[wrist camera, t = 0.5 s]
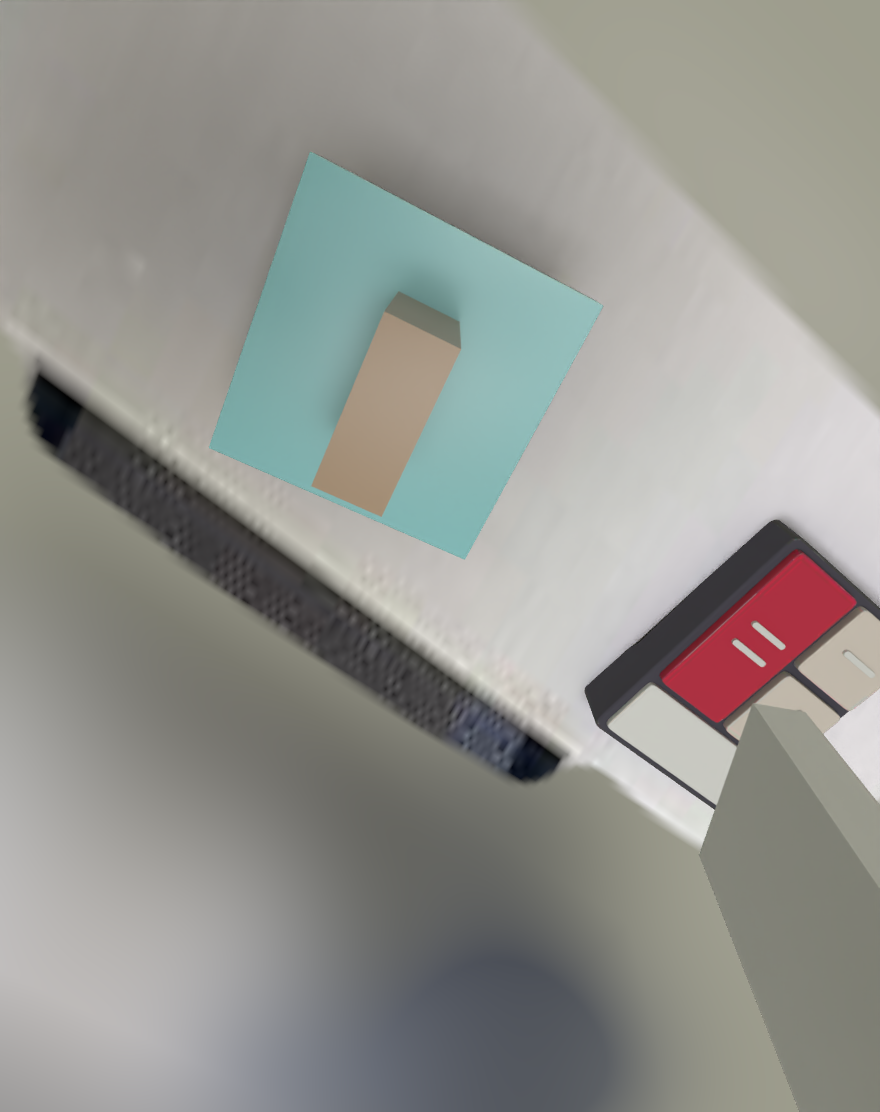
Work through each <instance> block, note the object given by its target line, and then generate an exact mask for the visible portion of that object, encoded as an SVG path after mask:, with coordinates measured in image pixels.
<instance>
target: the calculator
mask: <svg viewBox="0 0 880 1112" xmlns="http://www.w3.org/2000/svg"><path fill="white" fill-rule="evenodd" d="M878 689H880V608H879V607H878V606H877V605H876V604H874V603H873V602H872V601H871V600H870V599H869V598H868V597H867V596H866V595H865V594H863V593H862V592H861V591H860V590H859V589H858V588H857V587H856V586H855V585H853V584H852V583H851V582H850V581H849V580H848V579H847V578H846V577H845V576H844V575H842V574H841V573H840V572H839V571H838V570H837V569H836V568H835V567H834V566H833V565H831V564H830V563H829V562H828V561H827V560H826V559H825V558H824V557H823V556H821V555H820V554H819V553H818V552H817V551H816V550H815V549H814V548H813V547H812V546H810V545H809V544H808V543H807V542H806V541H805V540H804V539H802V538H801V537H800V536H799V535H797V534H796V533H795V532H794V531H792V530H791V529H790V528H788V527H787V526H786V525H785V524H783V523H782V522H781V521H778V520H774V521H771V522H769V523H768V524H767V525H766V526H765V527H763V528H762V529H761V530H760V531H759V532H758V533H757V534H756V535H755V536H753V537H752V538H751V539H750V540H749V541H748V542H747V543H746V544H745V545H743V546H742V547H741V548H740V549H739V550H738V551H737V552H736V553H735V554H733V555H732V556H731V557H730V558H729V559H728V560H727V561H726V562H725V563H723V564H722V565H721V566H720V567H719V568H718V569H717V570H716V571H715V572H713V573H712V574H711V575H710V576H709V577H708V578H707V579H706V580H705V581H703V582H702V583H701V584H700V585H699V586H698V587H697V588H696V589H695V590H694V591H693V592H692V593H691V594H690V595H689V596H688V597H686V598H685V599H684V600H683V601H682V602H681V603H680V604H679V605H678V606H677V607H676V608H675V609H674V610H673V611H672V612H671V613H670V614H669V615H667V616H666V617H665V618H664V619H663V620H662V621H661V622H660V623H659V624H658V625H657V626H656V627H655V628H654V629H653V630H652V631H651V632H650V633H649V634H647V635H646V636H645V637H644V638H643V639H642V640H641V641H640V642H639V643H638V644H636V645H633V646H631V647H630V648H629V649H627V650H626V651H625V652H624V653H623V654H622V655H621V656H620V657H619V658H617V659H616V660H615V661H614V662H613V663H612V664H611V665H610V666H609V667H607V668H606V669H605V670H604V671H603V672H602V673H601V674H600V675H598V676H597V677H596V678H595V679H594V680H593V681H592V682H591V683H590V684H589V685H587V687H586V688H585V694H586V697H587V700H588V703H589V705H590V708H591V711H592V714H593V717H594V719H595V722H596V724H597V726H598V727H599V728H600V729H602V730H603V731H605V732H606V733H607V734H609V735H610V736H612V737H613V738H614V739H616V740H617V741H619V742H620V743H621V744H623V745H624V746H626V747H627V748H629V749H630V750H631V751H633V752H634V753H636V754H637V755H638V756H640V757H641V758H643V759H644V760H645V761H647V762H648V763H650V764H651V765H652V766H654V767H655V768H657V769H658V770H659V771H661V772H662V773H664V774H665V775H667V776H668V777H669V778H671V779H672V780H674V781H675V782H676V783H678V784H679V785H681V786H682V787H683V788H685V789H686V790H688V791H689V792H690V793H692V794H693V795H695V796H696V797H698V798H699V799H700V800H702V801H703V802H705V803H706V804H707V805H709V806H710V807H712V808H713V809H714V810H715V808H716V805H717V803H718V800H719V797H720V794H721V791H722V788H723V786H724V783H725V780H726V777H727V774H728V772H729V769H730V766H731V763H732V760H733V757H734V755H735V752H736V749H737V746H738V743H739V740H740V738H741V735H742V732H743V729H744V726H745V723H746V721H747V718H748V715H749V712H750V709H751V706H752V704H753V703H756V704H762V705H767V706H773V707H779V708H785V709H790V710H796V711H802V712H806V713H807V715H808V716H809V717H810V718H811V720H812V721H813V722H814V723H815V725H816V726H817V727H818V728H819V730H820V731H821V732H822V733H823V734H824V733H825V732H826V731H828V730H829V729H830V728H831V727H833V726H834V725H835V724H836V723H837V722H838V721H839V720H840V718H841V717H842V716H844V715H845V714H846V713H847V712H848V711H851V710H853V709H855V708H856V707H857V706H859V705H860V704H861V703H862V702H864V701H865V700H866V699H867V698H869V697H870V696H871V695H872V694H873V693H875V692H876V691H877V690H878Z"/></svg>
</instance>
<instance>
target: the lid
mask: <svg viewBox="0 0 880 1112" xmlns="http://www.w3.org/2000/svg"><path fill="white" fill-rule="evenodd" d="M602 308H603V305H602V304H600V303H598V302H597V301H595V300H593V299H592V298H590V297H588V296H586V295H584V294H582V293H580V292H578V291H576V290H575V289H573V288H571V287H569V286H567V285H565V284H563V283H561V282H559V281H557V280H556V279H554V278H552V277H550V276H548V275H546V274H544V273H542V272H540V271H538V270H536V269H535V268H533V267H531V266H529V265H527V264H525V263H523V262H521V261H519V260H517V259H516V258H514V257H512V256H510V255H508V254H506V253H504V252H502V251H500V250H498V249H497V248H495V247H493V246H491V245H489V244H487V243H485V242H483V241H481V240H479V239H477V238H476V237H474V236H472V235H470V234H468V233H466V232H464V231H462V230H460V229H458V228H457V227H455V226H453V225H451V224H449V223H447V222H445V221H443V220H441V219H439V218H438V217H436V216H434V215H432V214H430V213H428V212H426V211H424V210H422V209H420V208H418V207H417V206H415V205H413V204H411V203H409V202H407V201H405V200H403V199H401V198H399V197H398V196H396V195H394V194H392V193H390V192H388V191H386V190H384V189H382V188H380V187H379V186H377V185H375V184H373V183H371V182H369V181H367V180H365V179H363V178H361V177H359V176H358V175H356V174H354V173H352V172H350V171H348V170H346V169H344V168H342V167H340V166H339V165H337V164H335V163H333V162H331V161H329V160H327V159H325V158H323V157H321V156H319V155H317V154H314V153H312V152H310V153H309V156H308V159H307V162H306V165H305V168H304V171H303V174H302V177H301V180H300V183H299V185H298V188H297V191H296V194H295V197H294V200H293V203H292V206H291V209H290V212H289V215H288V218H287V221H286V223H285V226H284V229H283V232H282V235H281V238H280V241H279V244H278V247H277V250H276V253H275V256H274V259H273V262H272V264H271V267H270V270H269V273H268V276H267V279H266V282H265V285H264V288H263V291H262V294H261V297H260V300H259V302H258V305H257V308H256V311H255V314H254V317H253V320H252V323H251V326H250V329H249V332H248V335H247V338H246V341H245V343H244V346H243V349H242V352H241V355H240V358H239V361H238V364H237V367H236V370H235V373H234V376H233V379H232V381H231V384H230V387H229V390H228V393H227V396H226V399H225V402H224V405H223V408H222V411H221V414H220V417H219V420H218V422H217V425H216V428H215V431H214V434H213V437H212V440H211V443H210V446H209V448H210V449H213V450H215V451H217V452H219V453H222V454H224V455H226V456H229V457H231V458H233V459H236V460H238V461H240V462H242V463H245V464H247V465H249V466H252V467H254V468H256V469H258V470H261V471H263V472H265V473H268V474H270V475H272V476H274V477H277V478H279V479H281V480H284V481H286V482H288V483H290V484H293V485H295V486H297V487H300V488H302V489H304V490H307V491H309V492H311V493H313V494H316V495H318V496H320V497H323V498H325V499H327V500H329V501H332V502H334V503H336V504H339V505H341V506H343V507H345V508H348V509H350V510H352V511H355V512H357V513H359V514H361V515H364V516H366V517H368V518H371V519H373V520H375V521H377V522H380V523H382V524H384V525H387V526H389V527H391V528H394V529H396V530H398V531H400V532H403V533H405V534H407V535H410V536H412V537H414V538H416V539H419V540H421V541H423V542H426V543H428V544H430V545H432V546H435V547H437V548H439V549H442V550H444V551H446V552H448V553H451V554H453V555H455V556H458V557H460V558H462V559H465V558H466V556H467V555H468V553H469V551H470V549H471V547H472V545H473V544H474V542H475V540H476V538H477V536H478V534H479V533H480V531H481V529H482V527H483V525H484V524H485V522H486V520H487V518H488V516H489V514H490V513H491V511H492V509H493V507H494V505H495V503H496V502H497V500H498V498H499V496H500V494H501V492H502V491H503V489H504V487H505V485H506V483H507V481H508V480H509V478H510V476H511V474H512V472H513V470H514V469H515V467H516V465H517V463H518V461H519V460H520V458H521V456H522V454H523V452H524V450H525V449H526V447H527V445H528V443H529V441H530V439H531V438H532V436H533V434H534V432H535V430H536V428H537V427H538V425H539V423H540V421H541V419H542V417H543V416H544V414H545V412H546V410H547V408H548V407H549V405H550V403H551V401H552V399H553V397H554V396H555V394H556V392H557V390H558V388H559V386H560V385H561V383H562V381H563V379H564V377H565V375H566V374H567V372H568V370H569V368H570V366H571V364H572V363H573V361H574V359H575V357H576V355H577V354H578V352H579V350H580V348H581V346H582V344H583V343H584V341H585V339H586V337H587V335H588V333H589V332H590V330H591V328H592V326H593V324H594V322H595V321H596V319H597V317H598V315H599V313H600V311H601V310H602Z"/></svg>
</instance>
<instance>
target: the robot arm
mask: <svg viewBox="0 0 880 1112" xmlns="http://www.w3.org/2000/svg"><path fill="white" fill-rule="evenodd" d="M699 856H700V859H701V862H702V864H703V867H704V869H705V872H706V874H707V877H708V880H709V882H710V885H711V887H712V890H713V892H714V895H715V897H716V900H717V903H718V905H719V908H720V910H721V913H722V915H723V918H724V920H725V923H726V926H727V928H728V931H729V933H730V936H731V938H732V941H733V944H734V946H735V949H736V951H737V954H738V956H739V959H740V961H741V964H742V967H743V969H744V972H745V974H746V977H747V979H748V982H749V984H750V987H751V990H752V992H753V994H754V997H755V999H756V1002H757V1005H758V1007H759V1010H760V1013H761V1015H762V1018H763V1020H764V1023H765V1025H766V1028H767V1030H768V1033H769V1035H770V1038H771V1041H772V1043H773V1046H774V1048H775V1051H776V1053H777V1056H778V1059H779V1061H780V1064H781V1066H782V1069H783V1071H784V1074H785V1076H786V1079H787V1082H788V1084H789V1087H790V1089H791V1091H792V1094H793V1097H794V1100H795V1102H796V1105H797V1107H798V1110H799V1112H880V805H879V803H878V802H877V801H876V800H875V798H874V797H873V796H872V795H871V793H870V792H869V791H868V790H867V788H866V787H865V786H864V785H863V783H862V782H861V781H860V780H859V778H858V777H857V776H856V775H855V773H854V772H853V771H852V770H851V768H850V767H849V766H848V765H847V763H846V762H845V761H844V760H843V758H842V757H841V756H840V755H839V753H838V752H837V751H836V750H835V748H834V747H833V746H832V745H831V743H830V742H829V741H828V740H827V738H826V737H825V736H824V735H823V733H822V732H821V731H820V730H819V728H818V727H817V726H816V725H815V723H814V722H813V721H812V720H811V718H810V717H809V716H808V715H807V713H806V712H802V711H796V710H790V709H785V708H779V707H773V706H767V705H762V704H756V703H753V704H752V706H751V709H750V712H749V715H748V718H747V721H746V723H745V726H744V729H743V732H742V735H741V738H740V740H739V743H738V746H737V749H736V752H735V755H734V757H733V760H732V763H731V766H730V769H729V772H728V774H727V777H726V780H725V783H724V786H723V788H722V791H721V794H720V797H719V800H718V803H717V805H716V808H715V811H714V814H713V817H712V820H711V822H710V825H709V828H708V831H707V834H706V837H705V839H704V842H703V845H702V848H701V851H700V854H699Z"/></svg>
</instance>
